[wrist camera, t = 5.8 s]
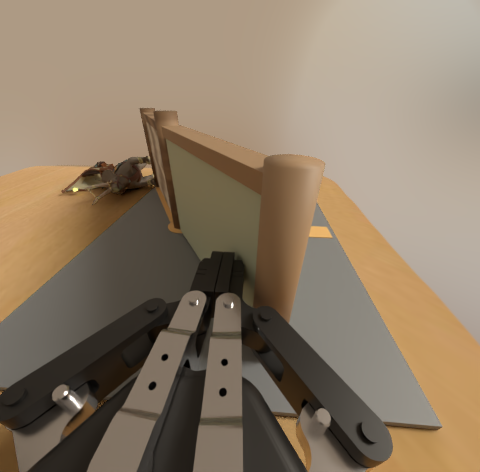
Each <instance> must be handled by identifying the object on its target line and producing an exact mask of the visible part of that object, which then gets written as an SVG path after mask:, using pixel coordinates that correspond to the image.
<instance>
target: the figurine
mask: <svg viewBox="0 0 480 472" xmlns="http://www.w3.org/2000/svg"><path fill="white" fill-rule="evenodd" d="M142 163H143V164H142ZM146 164H151V161H150V157H148V156H146V157H131V158H129V159H128V160H125V161H123V162H121V163H118V165H116V166H115V167H114V166H113V164H106V163H105V162H97V164H96V165H95V166H94V167H91V168H89V169H88V170H85V171H84V172H83V173H82V174H81V175H80V176H79V177H78V178H77V179H76V180H75V181H74V182H73V183H72V184H70V185H69V186H68V187H67V188H66V189H65V190H62V193H64V192H65V191H66V192H67V191H73V192H76V191H86V190H88V191H90V189H94V188H98V187H103V188H104V187H105V188H106V189H107V190H106V191H104V192H103V193H102V194H100V195H99V196H97V197H96V196H95V195H94V194H93V193H92V192H91V191H90V192H91V193H92V194H93V195H94V196H95V198H96V199H95V200H94V201H93V204H94V203H95V204H96V202H97V200H99V199H100V198H102V197H103V196H105V195H107V194H108V193H110V192H113V193H116V194H122V193H124V192H125V190H123V189H133V188H138V187H145V186H148V185H149V186H152V185H155V186H156V183H155V180H154V175H153V174H152V175H149V176H145V177H143V176H142V173H141V170H142V169H143V168H144V167H145V166H146ZM103 188H102V189H103ZM93 204H92V205H93Z"/></svg>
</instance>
